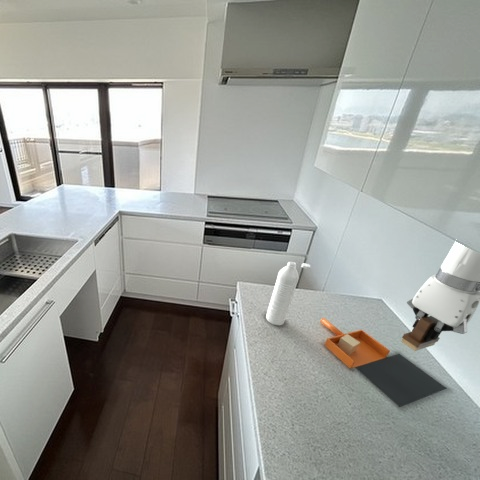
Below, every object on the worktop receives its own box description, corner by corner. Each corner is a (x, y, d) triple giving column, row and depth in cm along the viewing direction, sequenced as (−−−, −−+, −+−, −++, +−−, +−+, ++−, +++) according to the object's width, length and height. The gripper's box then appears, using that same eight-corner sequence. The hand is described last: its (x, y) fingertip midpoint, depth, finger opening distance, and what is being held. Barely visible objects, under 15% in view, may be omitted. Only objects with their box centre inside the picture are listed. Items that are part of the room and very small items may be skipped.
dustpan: (385, 358, 83) (390, 350, 81) (350, 369, 78) (354, 361, 77) (335, 319, 98) (338, 312, 97) (303, 326, 94) (305, 319, 93)
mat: (398, 354, 84) (399, 353, 84) (446, 388, 74) (446, 388, 74) (354, 367, 79) (354, 367, 79) (399, 407, 68) (399, 406, 68)
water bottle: (266, 323, 94) (283, 265, 84) (265, 312, 100) (280, 256, 90) (291, 329, 92) (312, 270, 82) (288, 317, 98) (308, 261, 88)
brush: (419, 335, 75) (433, 312, 71) (434, 345, 72) (451, 321, 68) (399, 341, 73) (413, 317, 69) (415, 351, 69) (430, 327, 66)
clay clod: (343, 342, 87) (347, 334, 86) (355, 351, 84) (360, 342, 82) (336, 346, 86) (340, 337, 84) (349, 355, 82) (353, 346, 81)
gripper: (514, 297, 57) (469, 355, 65) (428, 262, 71) (399, 313, 79) (494, 302, 55) (450, 362, 63) (410, 265, 69) (382, 318, 77)
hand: (422, 334), depth 71 cm, fingers closed on brush, 2 cm apart
